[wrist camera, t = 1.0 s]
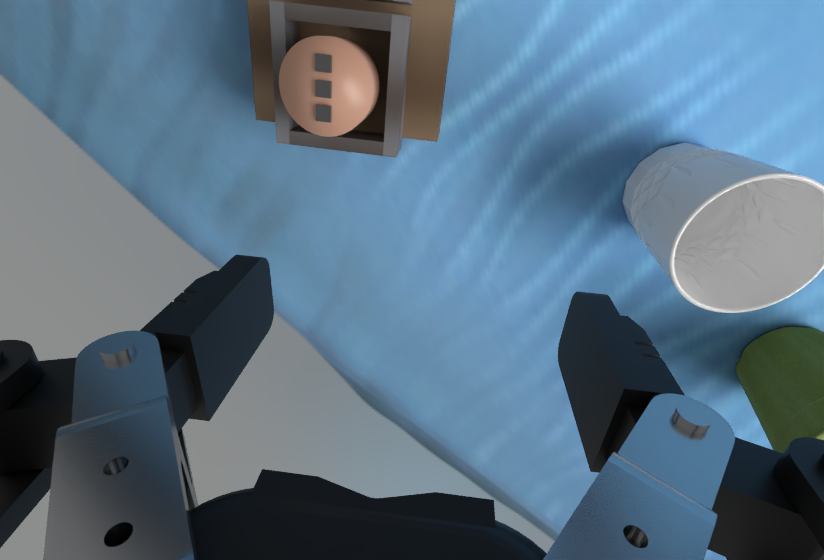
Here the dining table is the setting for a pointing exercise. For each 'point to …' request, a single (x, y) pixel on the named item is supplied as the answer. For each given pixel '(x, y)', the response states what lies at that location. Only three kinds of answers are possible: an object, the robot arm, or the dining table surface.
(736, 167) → the white cup
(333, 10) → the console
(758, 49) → the dining table surface
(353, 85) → the button three
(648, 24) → the dining table surface
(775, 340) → the plant pot
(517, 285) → the dining table surface
